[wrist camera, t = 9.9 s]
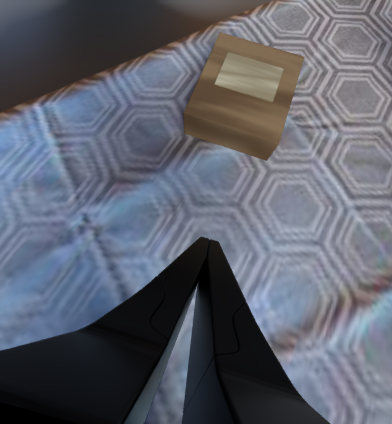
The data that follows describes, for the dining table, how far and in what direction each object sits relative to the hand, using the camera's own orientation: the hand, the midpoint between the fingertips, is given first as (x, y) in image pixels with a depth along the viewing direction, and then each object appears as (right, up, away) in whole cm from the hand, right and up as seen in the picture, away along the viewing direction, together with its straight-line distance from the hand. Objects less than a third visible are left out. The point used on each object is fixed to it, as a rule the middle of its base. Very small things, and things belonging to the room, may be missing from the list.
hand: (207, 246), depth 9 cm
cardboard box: (+3, +10, +15) cm, 19 cm away
